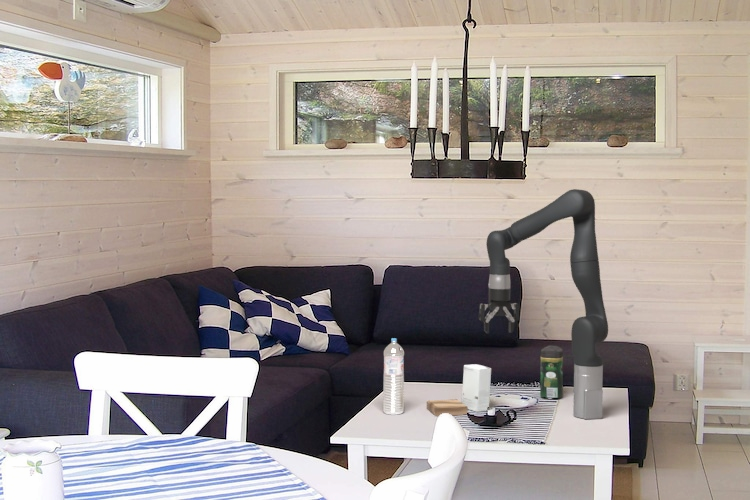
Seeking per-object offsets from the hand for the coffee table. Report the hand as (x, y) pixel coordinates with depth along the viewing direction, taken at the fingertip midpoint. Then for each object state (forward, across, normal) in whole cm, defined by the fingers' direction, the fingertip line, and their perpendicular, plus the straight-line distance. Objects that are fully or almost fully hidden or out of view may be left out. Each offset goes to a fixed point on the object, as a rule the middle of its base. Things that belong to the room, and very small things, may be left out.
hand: (498, 332), depth 330 cm
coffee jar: (+25, +21, +4) cm, 33 cm away
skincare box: (+25, -11, -10) cm, 29 cm away
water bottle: (+25, -40, -11) cm, 48 cm away
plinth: (+24, -22, -12) cm, 35 cm away
